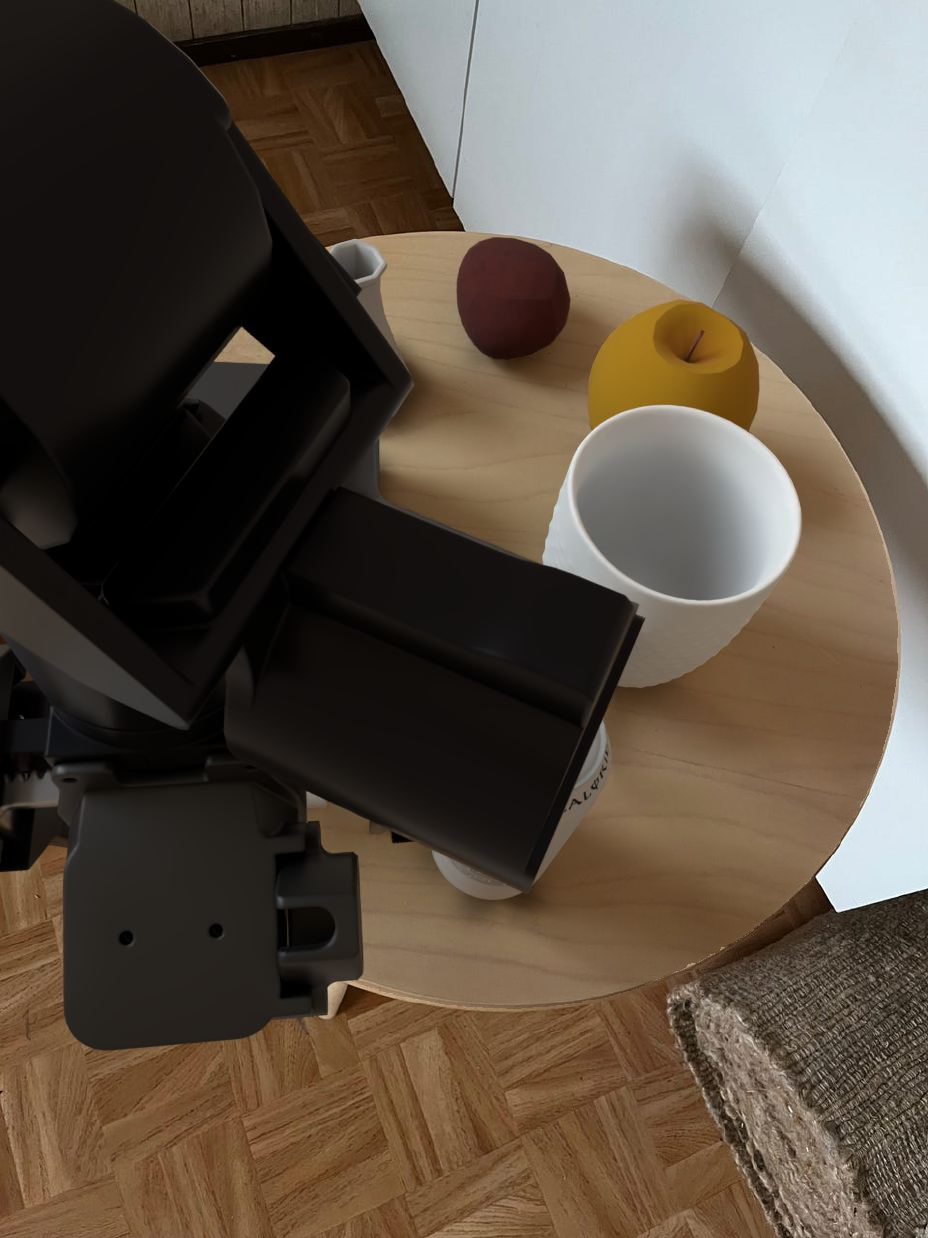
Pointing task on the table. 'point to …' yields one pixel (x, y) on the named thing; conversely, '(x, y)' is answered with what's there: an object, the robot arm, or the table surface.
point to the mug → (676, 530)
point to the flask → (367, 282)
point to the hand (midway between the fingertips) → (247, 830)
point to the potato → (511, 297)
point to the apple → (676, 365)
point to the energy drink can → (575, 811)
